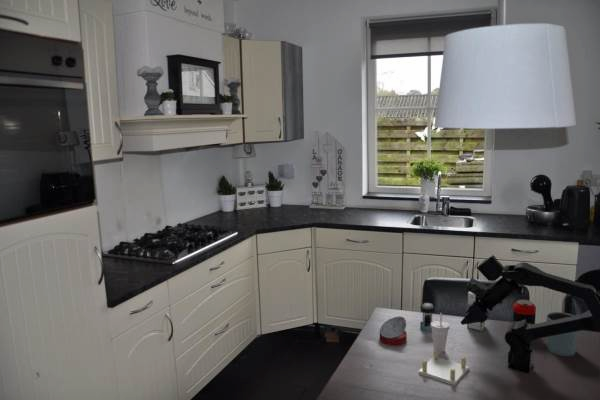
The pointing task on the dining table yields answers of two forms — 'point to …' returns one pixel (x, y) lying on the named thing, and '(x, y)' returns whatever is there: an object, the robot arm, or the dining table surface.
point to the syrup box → (477, 325)
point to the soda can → (524, 311)
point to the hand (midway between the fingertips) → (464, 318)
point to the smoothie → (439, 334)
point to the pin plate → (444, 369)
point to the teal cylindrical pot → (562, 338)
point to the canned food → (394, 332)
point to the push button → (427, 316)
